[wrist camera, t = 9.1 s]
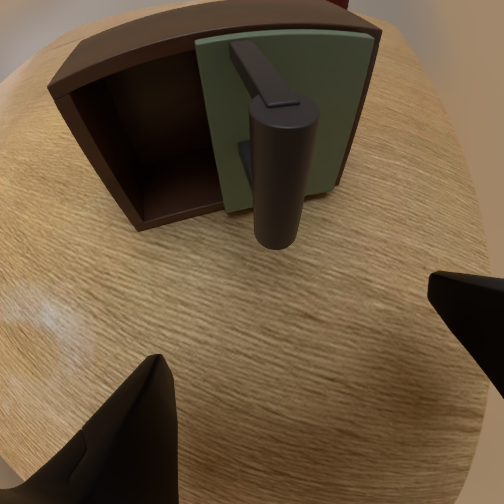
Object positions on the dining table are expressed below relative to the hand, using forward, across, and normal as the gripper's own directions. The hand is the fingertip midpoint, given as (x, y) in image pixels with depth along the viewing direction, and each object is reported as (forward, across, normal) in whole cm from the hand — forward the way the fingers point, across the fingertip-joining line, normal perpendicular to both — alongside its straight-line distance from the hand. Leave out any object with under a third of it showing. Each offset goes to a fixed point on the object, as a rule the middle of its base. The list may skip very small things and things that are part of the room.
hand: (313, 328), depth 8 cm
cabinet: (+14, 0, -4) cm, 14 cm away
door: (+9, -2, 0) cm, 9 cm away
